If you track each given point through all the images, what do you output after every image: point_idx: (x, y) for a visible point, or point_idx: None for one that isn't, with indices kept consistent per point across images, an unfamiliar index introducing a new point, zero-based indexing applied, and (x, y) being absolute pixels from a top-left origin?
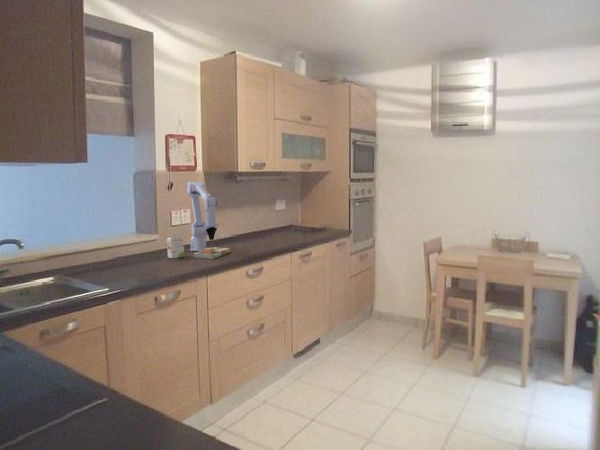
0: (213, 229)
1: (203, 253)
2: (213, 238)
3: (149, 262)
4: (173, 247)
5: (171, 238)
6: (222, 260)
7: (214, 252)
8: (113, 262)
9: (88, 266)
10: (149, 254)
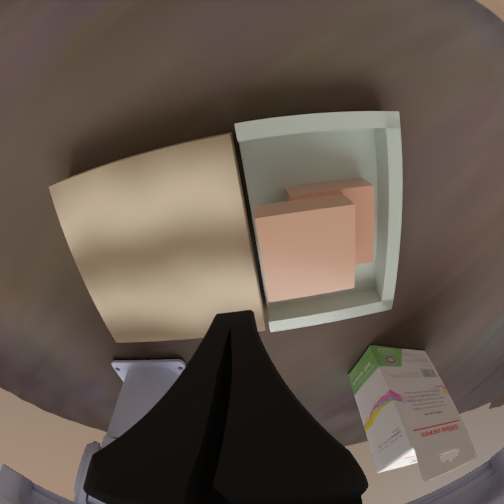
0: (336, 477)
1: (372, 240)
2: (220, 322)
3: (485, 349)
4: (442, 393)
5: (468, 435)
6: (392, 17)
7: (244, 208)
8: (469, 404)
9: (497, 395)
10: (353, 440)
